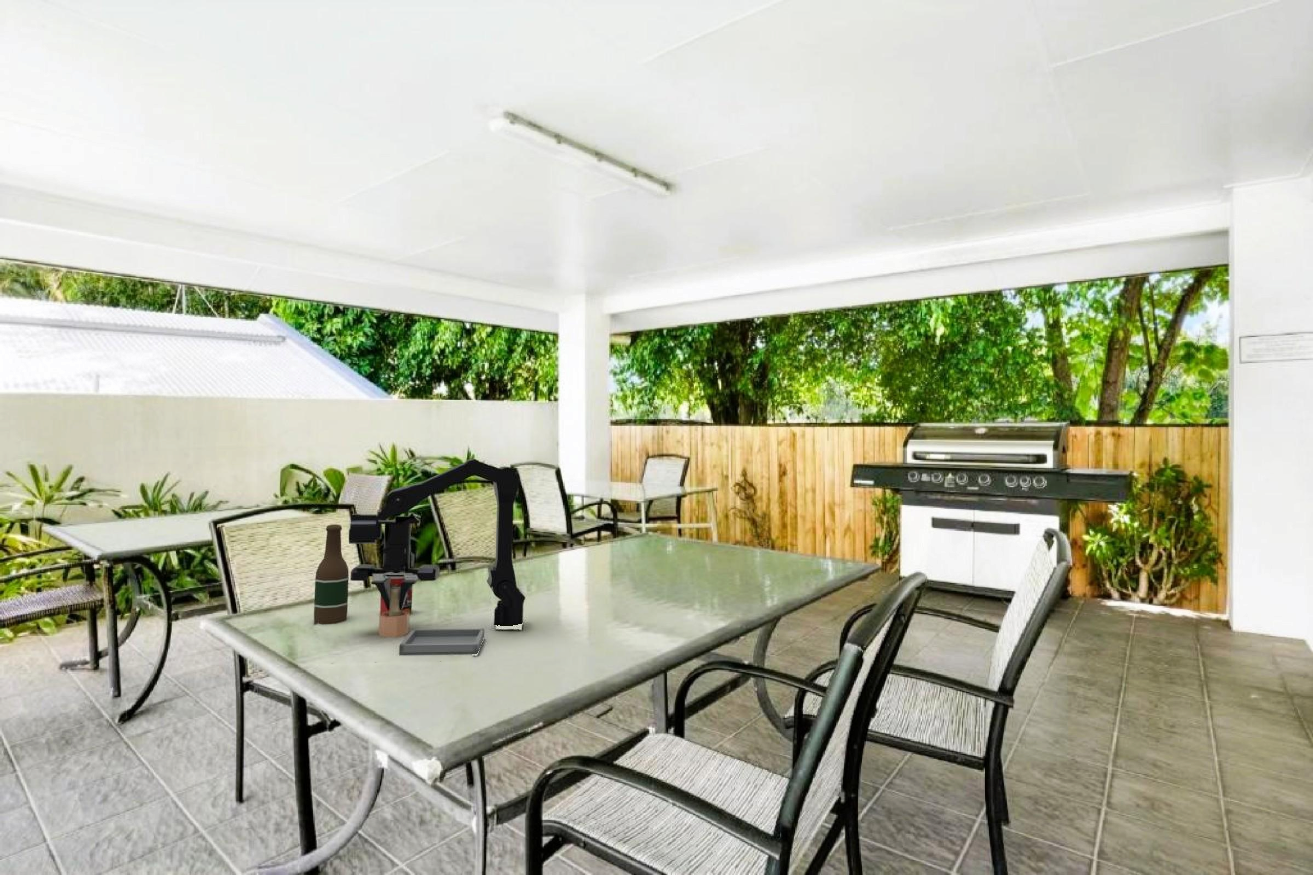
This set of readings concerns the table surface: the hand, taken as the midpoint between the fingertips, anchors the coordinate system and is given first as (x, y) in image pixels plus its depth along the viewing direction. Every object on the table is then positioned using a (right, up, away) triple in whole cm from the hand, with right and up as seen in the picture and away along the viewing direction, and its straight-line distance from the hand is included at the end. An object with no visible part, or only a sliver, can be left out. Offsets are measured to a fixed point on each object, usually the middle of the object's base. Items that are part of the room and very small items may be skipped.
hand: (394, 609), depth 152 cm
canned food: (-7, -6, +17) cm, 19 cm away
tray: (+14, -6, -8) cm, 17 cm away
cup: (0, -6, 0) cm, 6 cm away
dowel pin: (0, -6, 0) cm, 6 cm away
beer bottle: (-20, -6, +9) cm, 23 cm away
